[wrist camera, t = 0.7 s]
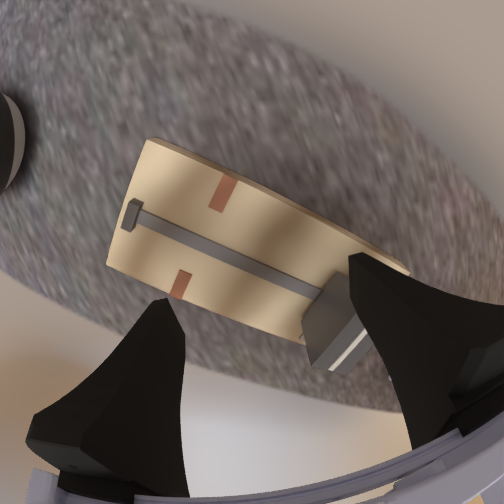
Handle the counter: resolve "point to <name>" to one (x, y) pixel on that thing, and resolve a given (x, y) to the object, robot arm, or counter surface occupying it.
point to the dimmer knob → (335, 329)
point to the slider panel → (228, 241)
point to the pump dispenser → (10, 140)
